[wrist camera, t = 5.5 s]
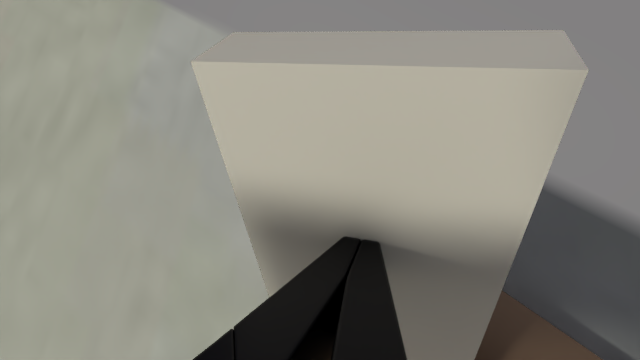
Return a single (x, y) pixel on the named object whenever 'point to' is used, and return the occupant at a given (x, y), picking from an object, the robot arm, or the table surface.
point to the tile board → (526, 336)
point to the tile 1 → (394, 157)
